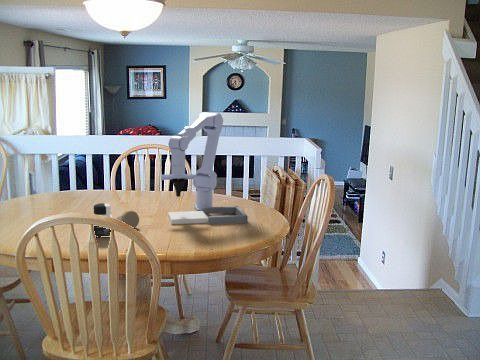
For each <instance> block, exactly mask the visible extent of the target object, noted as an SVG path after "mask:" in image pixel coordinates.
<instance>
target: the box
mask: <svg viewBox="0 0 480 360" xmlns="http://www.w3.org/2000/svg"><path fill="white" fill-rule="evenodd" d="M201 211H203V212H204V214H205V215H206V216H207V218H208V223H207V224H208V225H227V224H247V223H248V218H249V216H248V215H247V214H246V213H245V211H244V210H243V209H241V208H240V207H239V206H238V205H235V206H233V205H232V206H231V205H230V206H229V205H228V206H213V207H202V210H201ZM211 213H223V214H225V215H226V216H209V214H211ZM232 213H236V214H235V215H233V214H232Z"/></svg>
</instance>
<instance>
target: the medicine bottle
mask: <svg viewBox="0 0 480 360" xmlns="http://www.w3.org/2000/svg"><path fill="white" fill-rule="evenodd" d="M111 209H112V208H111V205H110V204H109V203H106V202H103V203H101V202H100V203H96V204H94V205H93V215H94V214H95V215H102V216H107V217H111V218H112V219H113V214H111V213H112V212H111ZM94 231H95V235H96V237H97V236H98V237H101V236H110V232H111V230H110V229H106V228H103V227H99V226H94Z"/></svg>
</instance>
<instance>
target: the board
mask: <svg viewBox="0 0 480 360" xmlns="http://www.w3.org/2000/svg"><path fill="white" fill-rule="evenodd" d="M167 214H168V216H167V217H168V219H169V222H170V224H171V225H185V224H187V225H188V224H189V225H190V224H208V215H205V214H204V212H203V211H202V210H193V211H192V210H191V211H168V212H167Z"/></svg>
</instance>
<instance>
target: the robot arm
mask: <svg viewBox="0 0 480 360" xmlns="http://www.w3.org/2000/svg"><path fill="white" fill-rule="evenodd" d="M223 124H224V118H223V116H222V114H221V113H220V112H217V113H216V112H215V113H214V112H205V111H202V112H200V113H199V114H198V116H197V119H196V120H195V121H194V122H193V124H192V125H191V126H184V129H183V130H181V131H180V132H179V133H178V134H177V135H173V136H171V137H170V139H169V141H168V143H167V144H168V148H169V150H170V151H169V152H170V155H171V174H169V173H167V174H160V181H165V180H166V181H167V180H170V181H171V182H172V184H173V187H174V190H175V195H176V197H178V198H179V197H181V192H182V190H183V188H184V185H185V183H186V180H192V185H193V186H194V187H195V190H196V199H195V200H196V201H195V202H196V203H195V204H194V205H193V206H194V208H195V209H196V211H202V207H214V206H213V196H214V195H213V191H214V190H215V188H216V187H217V184H218V182H217V181H218V180H217V177H218V175H217V173H216V172H215V171H214V165H215V159H216V155H217V150H218V144H219V141H220V140H219V139H220V134H221V133H222V130H223ZM202 129H203V131H205V132H206V133H207V137H206V142H205V148H204V152H203V153H204V154H203V158H202V163H201V167H200V168H199V169H197V170H195V173H194V174H193V173H186V151H187V149H188V148H189V145H190V143H191V142H192V141H193V140H194V139H195V138H196V137H197V133H198V132H200V131H201V130H202Z"/></svg>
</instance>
